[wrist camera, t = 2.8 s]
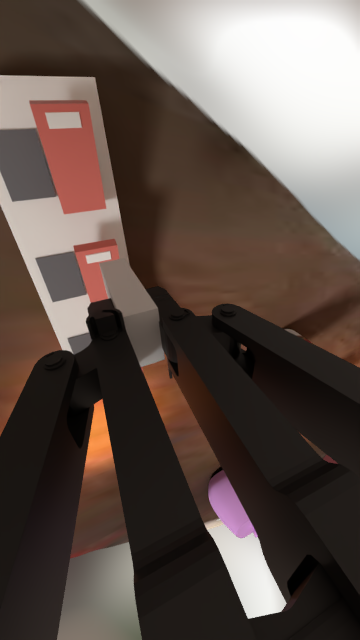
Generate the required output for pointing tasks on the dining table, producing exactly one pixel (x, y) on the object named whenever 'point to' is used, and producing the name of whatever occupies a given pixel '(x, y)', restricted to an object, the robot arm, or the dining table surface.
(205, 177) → the dining table surface
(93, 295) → the rocker
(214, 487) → the teapot
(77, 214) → the power strip
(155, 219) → the dining table surface
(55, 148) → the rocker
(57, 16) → the dining table surface
